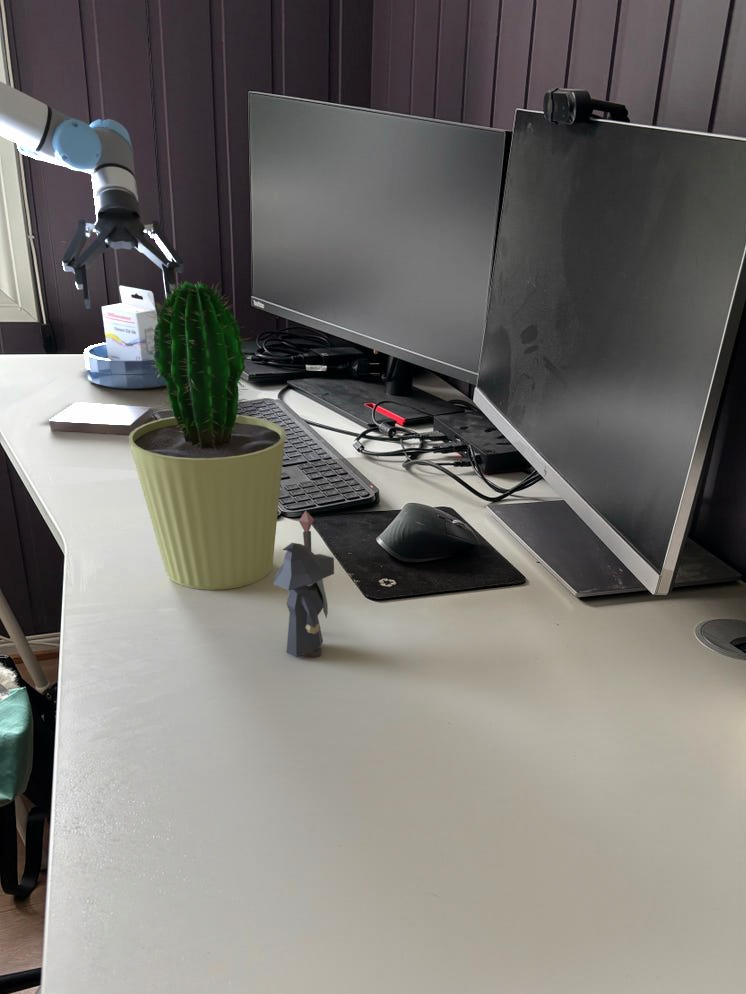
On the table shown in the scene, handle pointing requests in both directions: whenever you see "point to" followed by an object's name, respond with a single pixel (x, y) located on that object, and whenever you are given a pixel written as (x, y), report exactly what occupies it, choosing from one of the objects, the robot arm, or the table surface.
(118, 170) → the robot arm
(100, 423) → the board
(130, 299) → the ink cartridge box
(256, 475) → the potted cactus
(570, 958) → the table surface
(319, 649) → the wizard figurine
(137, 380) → the bowl
